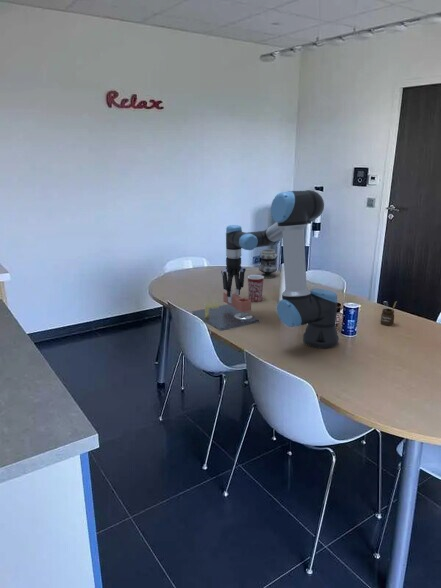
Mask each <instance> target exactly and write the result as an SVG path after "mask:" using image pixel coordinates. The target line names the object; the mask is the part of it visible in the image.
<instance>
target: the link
mask: <svg viewBox="0 0 441 588" xmlns="http://www.w3.org/2000/svg"><path fill="white" fill-rule="evenodd" d="M222 293H223V302H224V303H225V304H226V305H227V304H229V305H231V306H233V307H235V309H236V310H238V311H240V312H245V311H246V312H249V311H252V301H251V300H249V298H246V297H241V296H240V295H239V296H237V295H235V293H233V292H232V303H229V302H228V296H227V291H223V292H222Z"/></svg>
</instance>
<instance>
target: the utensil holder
mask: <svg viewBox="0 0 441 588" xmlns="http://www.w3.org/2000/svg"><path fill="white" fill-rule="evenodd" d="M397 302H398V301H396V300H395V301H394V303H393V306H392V308H389V307H385V306H382V307H383V309H382V310H381V311H382V312H381V314H380V324H381V325H383V326H387V327H389V326H393V325H394V321H395V310H394V308H395V307H396V304H397ZM384 303H385V305H388V303H389V302H388V301H384Z"/></svg>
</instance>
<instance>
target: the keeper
mask: <svg viewBox="0 0 441 588" xmlns="http://www.w3.org/2000/svg"><path fill="white" fill-rule="evenodd" d="M203 305H204V309H205V319H209V309H212V308H219V306H220V305H219V302H217V301H216V302H204V303H203Z"/></svg>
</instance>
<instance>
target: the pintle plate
mask: <svg viewBox="0 0 441 588" xmlns="http://www.w3.org/2000/svg"><path fill="white" fill-rule="evenodd" d="M192 315H194V316H196V317H197V316H198V317H197V318H199V319H200V320H202V321H204V322H206V323H207V324H208V325H210V326H212V327H214V328H215V329H217V330H219V331H225V330H230V329H234V328H240V327H242V326H243V327H244V326H247V325H253V324H256V322H257V323H260V319H259V318H257V317H255V316H253V314H251V313H248V312H246V317H241V312H240V311H238V310H236V309H235V307H233V306H231V305H229V304H227V303H226V304H222V305H219V308H212V309H209V319H205V308H203V309H198V310H193V311H192Z"/></svg>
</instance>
